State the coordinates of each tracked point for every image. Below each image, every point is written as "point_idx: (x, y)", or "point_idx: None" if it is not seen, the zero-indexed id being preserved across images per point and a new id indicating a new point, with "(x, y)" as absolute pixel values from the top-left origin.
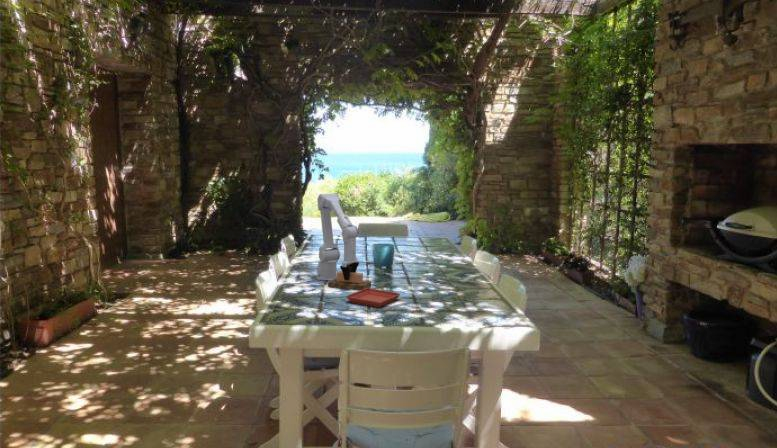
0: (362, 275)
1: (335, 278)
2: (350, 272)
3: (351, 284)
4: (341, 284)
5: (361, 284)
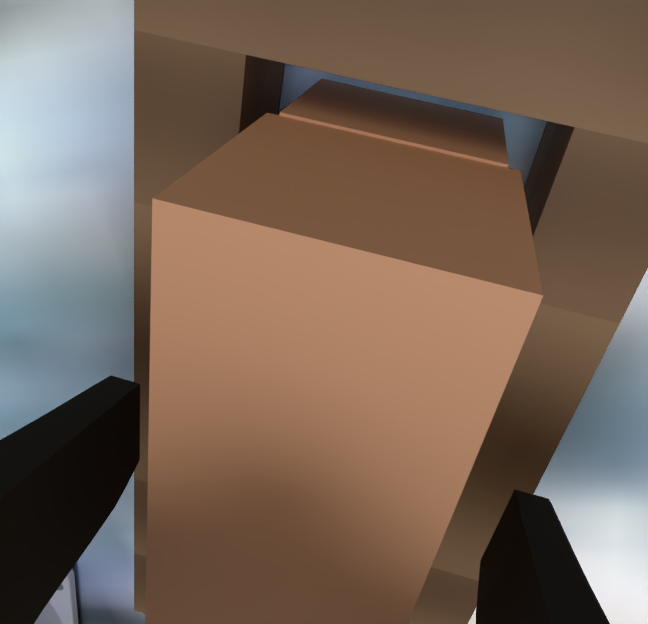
0: (236, 179)
1: (140, 609)
2: (188, 582)
3: (575, 370)
4: None
5: (571, 104)
